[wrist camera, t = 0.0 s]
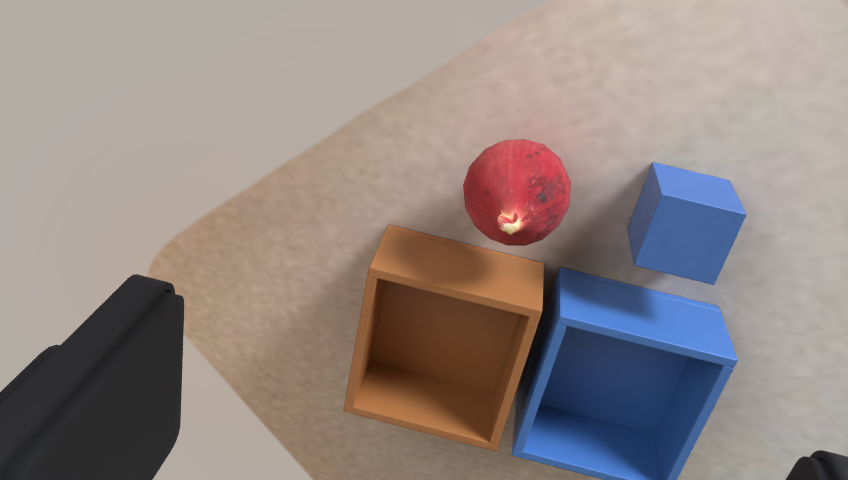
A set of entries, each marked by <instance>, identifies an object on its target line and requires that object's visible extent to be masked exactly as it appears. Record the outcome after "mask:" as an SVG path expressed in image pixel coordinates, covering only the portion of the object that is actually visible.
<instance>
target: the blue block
mask: <svg viewBox="0 0 848 480" xmlns="http://www.w3.org/2000/svg"><path fill="white" fill-rule="evenodd" d="M745 217H746V212H745V210H744V208H743V206H742V204H741V202H740V200H739V198H738V196H737V194H736V192H735V191H734V189H733V187H732V185H731V183H730V181H729V180H725V179H721V178H717V177H713V176H709V175H704V174H700V173H696V172H692V171H688V170H683V169H679V168H675V167H671V166H667V165H662V164H658V163H654V162H653V163H652V165H651V167H650V170H649V173H648V175H647V178H646V181H645V183H644V186H643V189H642V191H641V194H640V197H639V199H638V202H637V205H636V208H635V210H634V213H633V216H632V218H631V221H630V224H629V226H628V234H629V239H630V245H631V250H632V256H633V262H634V265H635V266H640V267H644V268H648V269H652V270H656V271H660V272H664V273H668V274H672V275H676V276H680V277H684V278H688V279H692V280H696V281H700V282H704V283H708V284H712V285H714V284H715V282H716V280H717V278H718V275H719V273H720V271H721V269H722V267H723V265H724V262H725V260H726V258H727V256H728V254H729V251H730V249H731V247H732V245H733V243H734V241H735V238H736V236H737V234H738V232H739V230H740V228H741V225H742V223H743V221H744V219H745Z"/></svg>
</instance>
